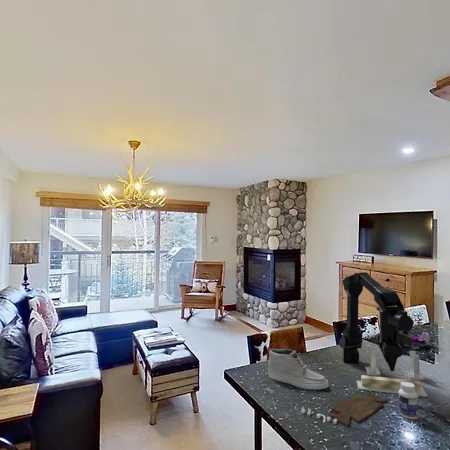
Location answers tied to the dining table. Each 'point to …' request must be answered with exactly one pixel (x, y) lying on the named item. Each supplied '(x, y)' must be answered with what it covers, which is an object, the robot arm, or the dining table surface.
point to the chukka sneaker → (293, 370)
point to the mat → (387, 390)
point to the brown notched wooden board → (357, 408)
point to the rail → (387, 383)
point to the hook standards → (412, 374)
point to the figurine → (417, 341)
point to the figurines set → (318, 415)
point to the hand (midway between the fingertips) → (389, 366)
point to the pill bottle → (408, 401)
